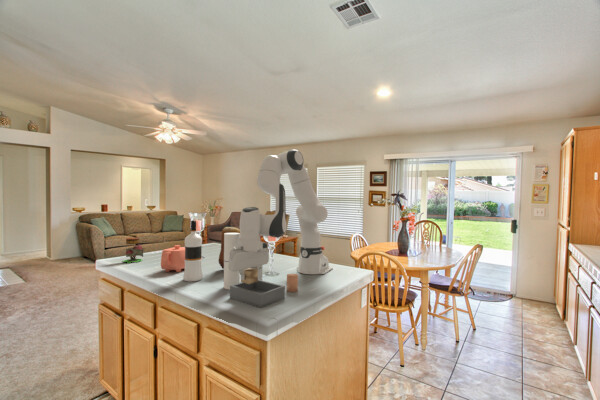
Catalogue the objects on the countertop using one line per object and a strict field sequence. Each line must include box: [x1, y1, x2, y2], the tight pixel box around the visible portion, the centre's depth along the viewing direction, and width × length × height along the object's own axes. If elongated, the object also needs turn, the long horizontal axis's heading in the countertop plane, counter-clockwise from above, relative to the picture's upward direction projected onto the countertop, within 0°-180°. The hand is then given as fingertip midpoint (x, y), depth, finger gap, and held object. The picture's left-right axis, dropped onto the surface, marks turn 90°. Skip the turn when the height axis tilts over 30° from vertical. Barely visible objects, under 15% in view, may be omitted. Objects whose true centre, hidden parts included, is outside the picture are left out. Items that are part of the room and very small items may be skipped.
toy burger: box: [122, 237, 146, 264], centre depth 187 cm, size 12×13×15 cm
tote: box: [229, 279, 286, 309], centre depth 120 cm, size 14×18×5 cm
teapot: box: [160, 244, 185, 273], centre depth 167 cm, size 22×13×14 cm, turn 168°
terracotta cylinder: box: [286, 273, 299, 293], centre depth 131 cm, size 5×5×7 cm
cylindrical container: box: [223, 233, 241, 290], centre depth 135 cm, size 7×7×25 cm
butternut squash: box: [218, 226, 240, 270], centre depth 166 cm, size 14×13×25 cm
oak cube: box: [240, 268, 258, 284], centre depth 123 cm, size 5×5×5 cm
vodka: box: [182, 220, 204, 283], centre depth 147 cm, size 9×9×30 cm
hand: (249, 277), depth 123 cm, fingers closed on oak cube, 5 cm apart
